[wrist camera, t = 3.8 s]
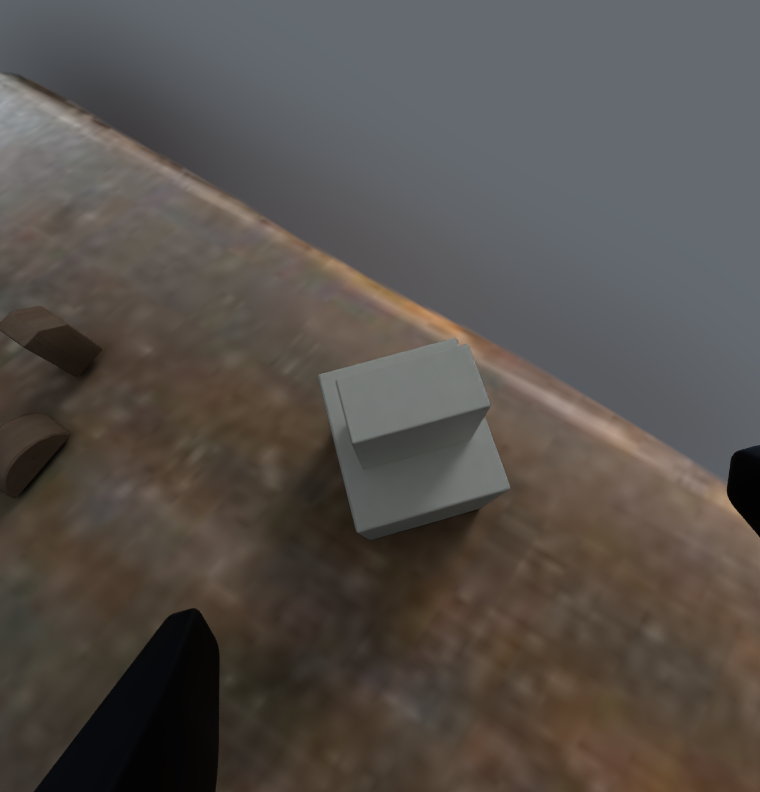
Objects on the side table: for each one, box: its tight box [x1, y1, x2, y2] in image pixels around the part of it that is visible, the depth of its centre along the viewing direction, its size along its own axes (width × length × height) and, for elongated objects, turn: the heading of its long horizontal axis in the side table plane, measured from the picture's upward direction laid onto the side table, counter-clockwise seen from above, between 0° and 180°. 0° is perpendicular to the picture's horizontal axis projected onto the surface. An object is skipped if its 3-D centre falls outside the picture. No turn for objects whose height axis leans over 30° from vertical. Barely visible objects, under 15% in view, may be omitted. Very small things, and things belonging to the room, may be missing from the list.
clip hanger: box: [318, 338, 510, 540], centre depth 15 cm, size 5×4×8 cm
